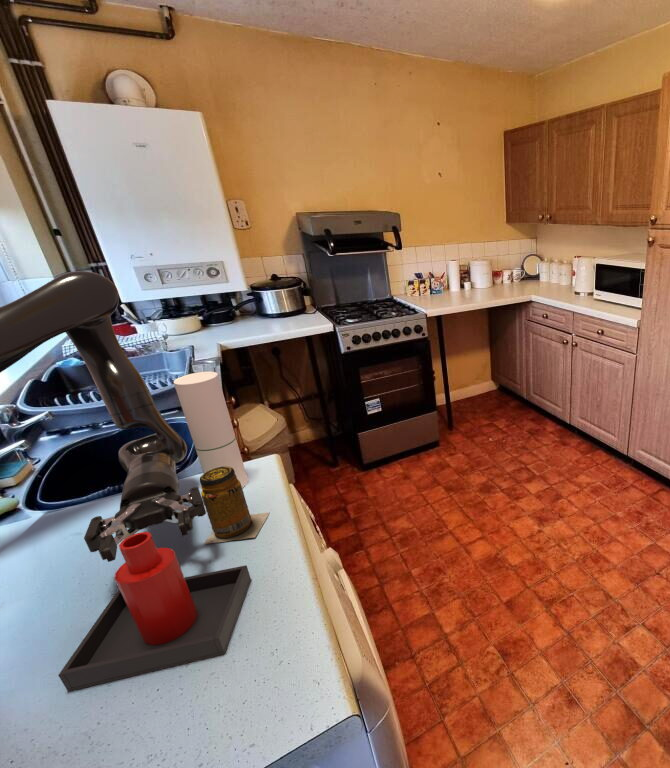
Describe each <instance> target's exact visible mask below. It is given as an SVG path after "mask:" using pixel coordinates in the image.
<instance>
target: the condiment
mask: <svg viewBox="0 0 670 768" xmlns="http://www.w3.org/2000/svg"><path fill="white" fill-rule="evenodd" d="M199 483H200V488H201V491H200V494H201V497H202V500H203V504H204V507H205V511H206V514H207V517H208V520H209V523H210V525H211V529H212V533H211V534H210V535H209V536H208V538H207V539H206V540H205V542H204V543H203V544H204V545H206V544H217V543H225V542H232V541H238V540H239V541H240V540H246V539H252V538H256V537H257V535H258V534H259V532H260V530H261V529H262V528H263V525H264V524H265V522H266V520H267V518H268V516H269V514H270V512H263V513H262V512H261V513H250V510H249V505H248V503H247V499H246V497H245V493H244V491H243V489H244V488H242V486H241V483H240V481H239V480H238V479H237V477H236V475H235V471H234V469H233V468H231V467H226V466H223V467H218V468H214V469H211V470H209V471H207V472H205V473H202V475H200V477H199Z"/></svg>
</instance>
